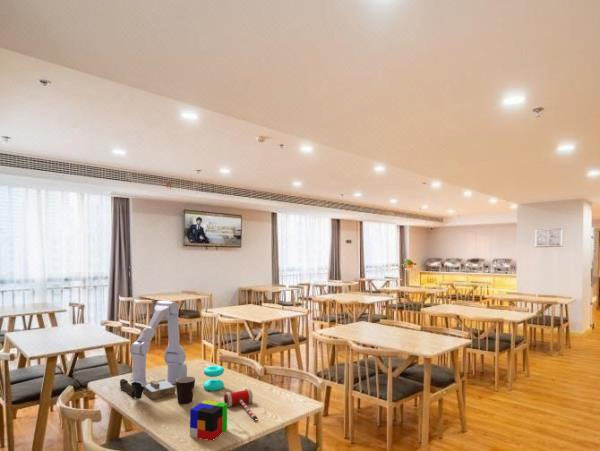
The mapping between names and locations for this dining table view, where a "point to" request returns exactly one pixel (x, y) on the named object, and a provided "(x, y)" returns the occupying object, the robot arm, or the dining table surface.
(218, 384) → the donuts
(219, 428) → the puzzle toy
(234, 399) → the toy hammer
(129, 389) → the dark brown wooden log
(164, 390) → the wooden tray
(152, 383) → the lid
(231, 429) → the dining table surface
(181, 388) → the coffee mug
